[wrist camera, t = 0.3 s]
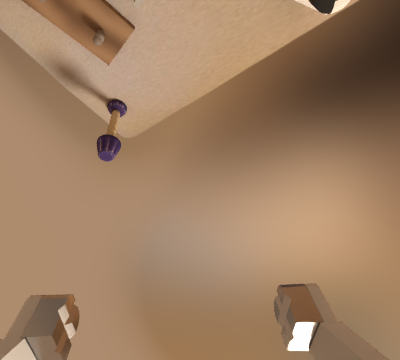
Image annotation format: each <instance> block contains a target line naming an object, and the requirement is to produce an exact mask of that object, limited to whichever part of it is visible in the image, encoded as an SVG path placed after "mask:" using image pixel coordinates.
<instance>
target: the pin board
mask: <svg viewBox="0 0 400 360" xmlns="http://www.w3.org/2000/svg"><path fill="white" fill-rule="evenodd" d="M22 1H24V2H25V3H26V4H28V5H29V6H30V7H32V8H33V9H34V10H36V11H37V12H38V13H40V14H41V15H42V16H44V17H45V18H46V19H48V20H49V21H50V22H52V23H53V24H54V25H56V26H57V27H58V28H60V29H61V30H62V31H64V32H65V33H66V34H68V35H69V36H70V37H72V38H73V39H74V40H76V41H77V42H78V43H80V44H81V45H82V46H84V47H85V48H86V49H88V50H89V51H90V52H92V53H93V54H94V55H96V56H97V57H98V58H100V59H101V60H103V61H104V62H105V63H107V64H108V65H109V64H110V63H111V61H112V60H113V59H114V57H115V56H116V54H117V53H118V52H119V50H120V49H121V48H122V46H123V45H124V43H125V42H126V41H127V39H128V38H129V36H130V35H131V34H132V32H133V31H134V29H135V27H134V26H133V25H132V24H131V23H130V22H128V21H127V20H126V19H125V18H124V17H123V16H122V15H121V14H119V13H118V12H117V11H116V10H115V9H114V8H113V7H112V6H110V5H109V4H108V3H107V2H106V1H105V0H22Z"/></svg>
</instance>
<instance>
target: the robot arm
mask: <svg viewBox="0 0 400 360" xmlns="http://www.w3.org/2000/svg"><path fill="white" fill-rule="evenodd" d="M277 292H278V296H277V297H275V301H274V311H275V316H276V319H277V322H278V323H279V324H280V325H281V326H282V327H283V328H282V332H281V335H282V338H283V340H284V344H285V347H286V350H287V351H296V350H309V353H310V354H311V355H312V356H313V357H314V358H315V359H316V360H389V359H388V358H387V357H385V356H384V355H383V354H381V353H380V352H379V351H378V350H377V349H375V348H374V347H373V346H372V345H370V344H369V343H368V342H367V341H365V340H364V339H363V338H361V337H360V336H359V335H358V334H357V333H355V332H354V331H353V330H352V329H350V328H349V327H348V326H347V325H345V324H344V323H343V322H340V321H337V319H336V317H335V315H334V314H333V312H332V310H331V308H330V306H329V304H328V302H327V301H326V299H325V297H324V295H323V293H322V291H321V290H320V288H319V286H318V285H317V284H315V283H311V284H288V285H279V286H278V288H277ZM74 302H75V298H74V295H73V294H68V295H67V294H66V295H31V296H30V297H29V298H28V299H27V300H26V301H25V303H24V305H23V307H22V309H21V310H20V312H19V314H18V316H17V317H16V319H15V321H14V323H13V324H12V326H11V328H10V330H9V331H8V333H7V335H6V337H5V339H0V360H67V357H68V354H69V351H70V348H71V342H70V338H71V337H72V336H73V335H74V334H75V333H76V330H77V327H78V323H79V309H78V307H77V306H75V305H74Z"/></svg>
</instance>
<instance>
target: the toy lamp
mask: <svg viewBox="0 0 400 360" xmlns="http://www.w3.org/2000/svg"><path fill="white" fill-rule="evenodd" d="M108 110H109V112H110V114H111V115H112V116H111V119H110V123H109V128H108V130H107V131H108V132H107V134H106V135H102V136H100V137H99V138H98V140H97V150H98V156H99V158H100V159H102V160H104V161H111V160H113V159H114V158H115V156H116V155H117V153H118V152H119V150H120V148H121V143H120V141H119V139H118V138H117V137H115V134H116V129H117V125H118V121H119V117H122V116H123V115H125V113H126V111H127V107H126V105H125V104H124V103H123V102H122V101H119V100H112V101H110V102H109V104H108Z"/></svg>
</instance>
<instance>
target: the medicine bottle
mask: <svg viewBox="0 0 400 360" xmlns="http://www.w3.org/2000/svg"><path fill="white" fill-rule="evenodd" d="M295 1H297V2H299V3H301V4H304V5H306V6H308V7H310V8H312V9H314V10H316V11H319V12H321V13H323V14H325V15H327V14H331V13H334V12H337V11H339V10H340V9H342V8H343V7H344V6H346V5H347V4H348V3H349V1H350V0H295Z"/></svg>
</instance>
